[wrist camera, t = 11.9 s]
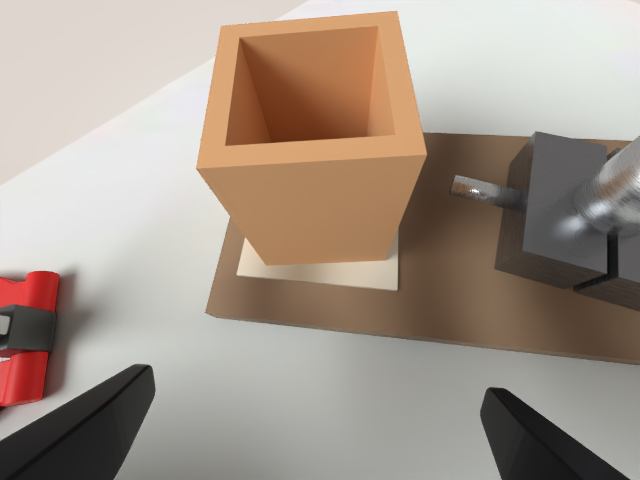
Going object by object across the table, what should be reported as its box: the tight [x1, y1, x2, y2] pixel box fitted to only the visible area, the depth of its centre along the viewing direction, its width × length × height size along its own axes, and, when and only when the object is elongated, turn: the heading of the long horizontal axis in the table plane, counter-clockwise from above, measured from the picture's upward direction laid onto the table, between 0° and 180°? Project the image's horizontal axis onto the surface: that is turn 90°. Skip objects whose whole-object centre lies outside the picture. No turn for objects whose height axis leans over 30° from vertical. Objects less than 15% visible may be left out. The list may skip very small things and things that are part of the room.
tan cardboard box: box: [196, 11, 427, 266], centre depth 13 cm, size 6×6×8 cm
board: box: [205, 133, 640, 365], centre depth 16 cm, size 23×12×2 cm, turn 83°
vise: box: [448, 131, 640, 312], centre depth 12 cm, size 7×10×6 cm
